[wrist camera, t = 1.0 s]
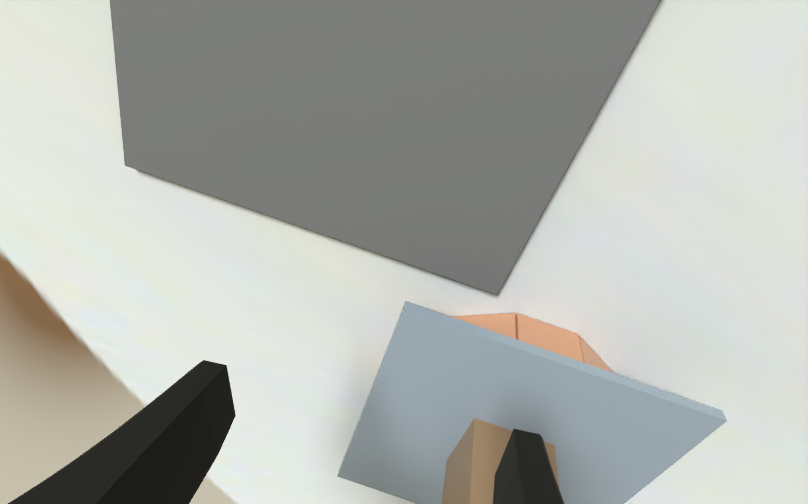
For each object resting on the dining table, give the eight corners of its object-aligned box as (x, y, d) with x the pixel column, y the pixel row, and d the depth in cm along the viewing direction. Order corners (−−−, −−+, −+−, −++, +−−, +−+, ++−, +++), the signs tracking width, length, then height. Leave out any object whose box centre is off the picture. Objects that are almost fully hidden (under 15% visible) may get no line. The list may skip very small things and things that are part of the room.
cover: (721, 410, 19) (783, 538, 15) (561, 543, 27) (572, 650, 23) (405, 301, 19) (378, 399, 14) (339, 468, 27) (310, 562, 22)
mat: (794, -257, 11) (806, -265, 10) (497, 288, 21) (497, 294, 21) (77, -521, 10) (60, -540, 10) (132, 161, 21) (125, 165, 20)
